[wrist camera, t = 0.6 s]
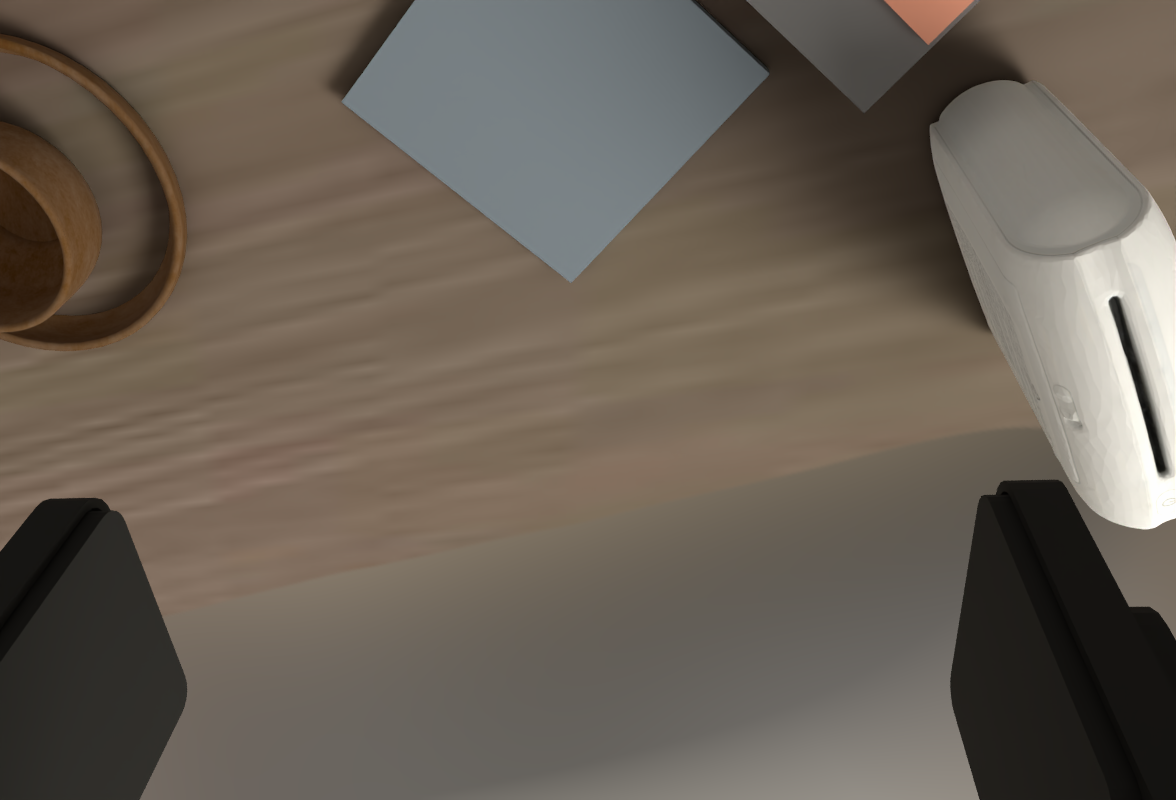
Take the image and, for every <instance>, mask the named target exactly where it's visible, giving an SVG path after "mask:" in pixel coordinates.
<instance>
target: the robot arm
mask: <svg viewBox="0 0 1176 800" xmlns="http://www.w3.org/2000/svg"><path fill="white" fill-rule="evenodd" d="M950 682H951V686H950V688H951V699H952V706H953V710H954V713H955V717H956V721H957V724H958V727H959V731H960V734H961V738H962V741H963V744H964V748H965V751H966V755H967V758H968V762H969V765H970V768H971V771H972V775H973V778H974V782H975V785H976V789H977V792H978V796H979V799H980V800H1176V640H1175V638H1174V636H1173V635H1172V633H1171V631H1170V629H1169V627H1168V626H1167V624H1166V623H1165V621H1164V620H1163V618H1162V617H1161V616H1160V614H1159V613H1158V612H1156V611H1155V610H1153V609H1152V608H1150V607H1129V606H1128V604H1127V602H1126V600H1125V598H1124V597H1123V595H1122V593H1121V591H1120V589H1119V587H1118V585H1117V583H1116V581H1115V579H1114V578H1113V576H1112V574H1111V572H1110V570H1109V568H1108V566H1107V564H1106V563H1105V560H1104V559H1103V557H1102V555H1101V553H1100V551H1099V549H1098V547H1097V545H1096V543H1095V541H1094V540H1093V538H1092V536H1091V534H1090V532H1089V530H1088V528H1087V526H1086V525H1085V522H1084V521H1083V519H1082V517H1081V515H1080V513H1079V511H1078V509H1077V508H1076V506H1075V503H1074V502H1073V500H1072V498H1071V496H1070V494H1069V492H1068V490H1067V488H1066V487H1065V485H1064V484H1063V483H1062V482H1061V481H1059V480H1020V481H1003V482H1001V483H1000V485H999V487H998V488H997V492H996V495H983V496H981V498H980V500H979V503H978V508H977V514H976V520H975V527H974V533H973V539H972V546H971V552H970V559H969V564H968V570H967V577H966V583H965V589H964V596H963V602H962V608H961V614H960V621H959V627H958V633H957V639H956V646H955V652H954V658H953V664H952V671H951V681H950ZM186 697H187V682H186V679H185V675H184V672H183V669H182V667H181V664H180V662H179V659H178V657H177V654H176V652H175V649H174V646H173V644H172V641H171V639H170V636H169V633H168V631H167V628H166V626H165V623H164V620H163V618H162V615H161V613H160V610H159V608H158V605H157V602H156V600H155V597H154V595H153V592H152V590H151V587H150V584H149V582H148V579H147V577H146V574H145V571H144V569H143V566H142V564H141V561H140V559H139V556H138V553H137V551H136V548H135V546H134V543H133V541H132V538H131V535H130V533H129V530H128V528H127V525H126V523H125V520H124V518H123V517H122V515H121V514H120V513H119V512H117V511H111V510H110V509H109V507H108V505H107V504H106V503H105V502H104V501H103V500H102V499H98V498H66V499H48V500H45V501H42V502H41V503H40V504H39V505H38V506H37V507H36V508H35V509H34V511H33V512H32V513H31V514H30V515H29V517H28V518H27V519H26V520H25V522H24V523H23V524H22V525H21V527H20V528H19V529H18V530H17V532H16V533H15V534H14V535H13V537H12V538H11V539H10V540H9V542H8V543H7V544H6V545H5V547H4V548H3V549H2V550H1V551H0V800H139V799H140V797H141V795H142V793H143V791H144V789H145V787H146V785H147V783H148V781H149V779H150V777H151V775H152V773H153V771H154V769H155V767H156V765H157V762H158V761H159V758H160V757H161V754H162V752H163V750H164V748H165V746H166V744H167V742H168V740H169V738H170V736H171V734H172V732H173V730H174V728H175V726H176V724H177V722H178V720H179V718H180V716H181V714H182V711H183V709H184V706H185V702H186Z"/></svg>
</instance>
